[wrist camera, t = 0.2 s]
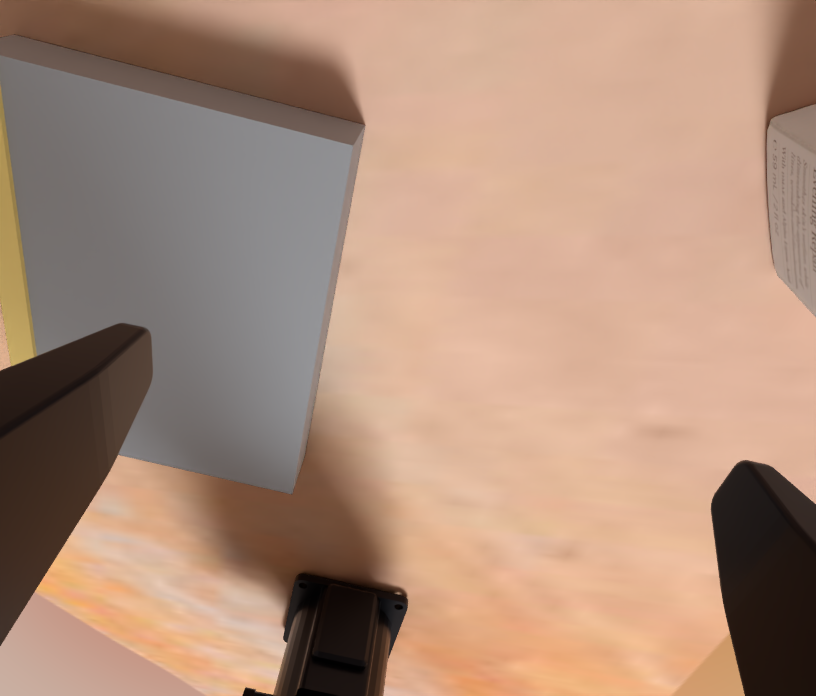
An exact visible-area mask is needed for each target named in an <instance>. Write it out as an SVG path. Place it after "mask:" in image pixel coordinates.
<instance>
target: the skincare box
mask: <svg viewBox="0 0 816 696" xmlns="http://www.w3.org/2000/svg"><path fill="white" fill-rule="evenodd" d="M767 189H768V208H769V223H770V234H771V244H772V254H773V261H774V267H775V270H776V273H777V276H778V277H779V278H780V279H781V280H782V281H783V282H784V283H785V284H786V285H787V286H788V287H789V289H790V290H791V291H792V292H793V293H794V294H795V295H796V296H797V297H798V299H799V300H800V301H801V302H802V303H803V304H804V305H805V306H806V308H807V309H809V310H810V312H811V313H812V314H813V315H814V316H815V317H816V104H814V105H810V106H807V107H804V108H801V109H798V110H795V111H792V112H789V113H785V114H782V115H778V116H776V117H774V118H772V119H771V121H770V125H769V127H768V130H767Z"/></svg>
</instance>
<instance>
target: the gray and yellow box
mask: <svg viewBox="0 0 816 696" xmlns="http://www.w3.org/2000/svg"><path fill="white" fill-rule="evenodd" d="M364 130H365V125H363V124H359V123H355V122H351V121H348V120H344V119H340V118H336V117H332V116H328V115H324V114H320V113H317V112H313V111H309V110H305V109H301V108H297V107H293V106H289V105H285V104H282V103H278V102H274V101H270V100H266V99H262V98H258V97H254V96H251V95H247V94H243V93H239V92H235V91H231V90H227V89H223V88H220V87H216V86H212V85H208V84H204V83H200V82H196V81H192V80H188V79H185V78H181V77H177V76H173V75H169V74H165V73H161V72H157V71H154V70H150V69H146V68H142V67H138V66H134V65H130V64H126V63H122V62H119V61H115V60H111V59H107V58H103V57H99V56H95V55H91V54H88V53H84V52H80V51H76V50H72V49H68V48H64V47H60V46H56V45H53V44H49V43H45V42H41V41H37V40H33V39H29V38H25V37H22V36H18V35H10V36H5V37H1V38H0V302H1V308H2V314H3V320H4V326H5V332H6V338H7V344H8V350H9V356H10V362H11V366H13V365H16V364H18V363H21V362H23V361H25V360H28V359H30V358H33V357H35V356H38V355H40V354H43V353H45V352H48V351H50V350H53V349H55V348H58V347H60V346H63V345H65V344H68V343H70V342H73V341H75V340H78V339H80V338H83V337H85V336H88V335H90V334H92V333H95V332H97V331H100V330H102V329H105V328H107V327H110V326H112V325H115V324H118V323H128V324H132V325H137V326H141V327H145V328H147V329H148V330H149V331H150V333H151V337H152V358H153V378H152V382H151V385H150V388H149V390H148V392H147V394H146V396H145V399H144V401H143V403H142V405H141V407H140V409H139V411H138V413H137V415H136V418H135V420H134V422H133V424H132V426H131V428H130V430H129V432H128V435H127V437H126V439H125V441H124V443H123V445H122V447H121V449H120V451H119V454H118V455H121V456H126V457H130V458H135V459H139V460H143V461H148V462H152V463H157V464H161V465H165V466H170V467H174V468H178V469H183V470H187V471H192V472H196V473H200V474H205V475H209V476H213V477H218V478H222V479H227V480H231V481H235V482H240V483H244V484H248V485H253V486H257V487H262V488H266V489H270V490H275V491H279V492H284V493H288V494H292V493H293V490H294V487H295V484H296V481H297V478H298V475H299V472H300V469H301V466H302V463H303V460H304V457H305V452H306V447H307V441H308V436H309V431H310V425H311V420H312V414H313V409H314V403H315V398H316V392H317V387H318V381H319V376H320V370H321V365H322V359H323V354H324V348H325V343H326V338H327V332H328V327H329V321H330V316H331V310H332V305H333V299H334V294H335V288H336V283H337V277H338V272H339V266H340V261H341V255H342V250H343V245H344V239H345V234H346V228H347V223H348V217H349V212H350V206H351V201H352V195H353V190H354V184H355V179H356V173H357V168H358V162H359V157H360V152H361V146H362V141H363V135H364Z"/></svg>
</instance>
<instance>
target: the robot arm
mask: <svg viewBox="0 0 816 696" xmlns="http://www.w3.org/2000/svg"><path fill="white" fill-rule="evenodd" d="M152 378H153V358H152V337H151V333H150V331H149V330H148V329H147V328H145V327H141V326H137V325H132V324H128V323H118V324H115V325H112V326H110V327H107V328H105V329H102V330H100V331H97V332H95V333H92V334H90V335H88V336H85V337H83V338H80V339H78V340H75V341H73V342H70V343H68V344H65V345H63V346H60V347H58V348H55V349H53V350H50V351H48V352H45V353H43V354H40V355H38V356H35V357H33V358H30V359H28V360H25V361H23V362H21V363H18V364H16V365H13V366H11V367H8V368H6V369H3V370H1V371H0V646H1V644H2V642H3V641H4V639H5V638H6V636H7V635H8V633H9V631H10V630H11V628H12V627H13V625H14V623H15V622H16V620H17V619H18V617H19V615H20V614H21V612H22V611H23V609H24V608H25V606H26V604H27V603H28V601H29V600H30V598H31V596H32V595H33V593H34V592H35V590H36V589H37V587H38V585H39V584H40V582H41V581H42V579H43V577H44V576H45V574H46V573H47V571H48V569H49V568H50V566H51V565H52V563H53V562H54V560H55V558H56V557H57V555H58V554H59V552H60V550H61V549H62V547H63V546H64V544H65V542H66V541H67V539H68V538H69V536H70V535H71V533H72V531H73V530H74V528H75V527H76V525H77V523H78V522H79V520H80V519H81V517H82V515H83V514H84V512H85V511H86V509H87V508H88V506H89V504H90V503H91V501H92V500H93V498H94V496H95V495H96V493H97V492H98V490H99V488H100V487H101V485H102V484H103V482H104V480H105V478H106V477H107V475H108V473H109V472H110V470H111V468H112V466H113V464H114V462H115V460H116V458H117V456H118V454H119V451H120V449H121V447H122V445H123V443H124V441H125V439H126V437H127V435H128V432H129V430H130V428H131V426H132V424H133V422H134V420H135V418H136V415H137V413H138V411H139V409H140V407H141V405H142V403H143V401H144V399H145V396H146V394H147V392H148V390H149V388H150V385H151V382H152ZM711 515H712V522H713V530H714V538H715V546H716V554H717V562H718V570H719V578H720V586H721V592H722V598H723V604H724V609H725V614H726V618H727V623H728V627H729V631H730V635H731V639H732V644H733V647H734V652H735V656H736V660H737V664H738V668H739V673H740V677H741V681H742V685H743V690H744V694H745V696H816V504H815V503H814V502H812V501H811V500H810V499H809V498H808V497H807V496H805V495H804V494H803V493H802V492H801V491H800V490H798V489H797V488H796V487H795V486H794V485H793V484H791V483H790V482H789V481H788V480H787V479H786V478H785V477H783V476H782V475H781V474H780V473H779V472H778V471H776V470H775V469H774V468H773V467H771V466H769V465H766V464H762V463H758V462H753V461H748V460H743V461H740V462H739V463H737V464H736V465H735V466H734V468H733V469H732V470H731V472H730V473H729V475H728V476H727V477H726V479H725V480H724V482H723V483H722V484H721V486H720V487H719V489H718V490H717V491H716V493H715V494H714V497H713V499H712V503H711ZM407 608H408V599H407V598H406V597H404V596H401V595H397V594H392V593H388V592H383V591H379V590H374V589H370V588H365V587H361V586H356V585H352V584H347V583H343V582H338V581H334V580H329V579H325V578H320V577H316V576H311V575H307V574H299V575H297V577H296V579H295V582H294V587H293V592H292V597H291V602H290V607H289V612H288V617H287V622H286V626H285V631H284V636H283V640H284V641H285V642H287V646H286V649H285V653H284V657H283V661H282V664H281V668H280V672H279V675H278V679H277V683H276V687H275V690H274V694H273V695H271V694H266V693H261V692H256V689H252V688H247V687H246V688H245V690H244V693H243V696H383V693H384V685H385V677H386V669H387V661H388V658H389V655H390V653H391V650H392V648H393V645H394V642H395V640H396V637H397V635H398V632H399V629H400V627H401V624H402V622H403V619H404V616H405V614H406V611H407Z"/></svg>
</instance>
